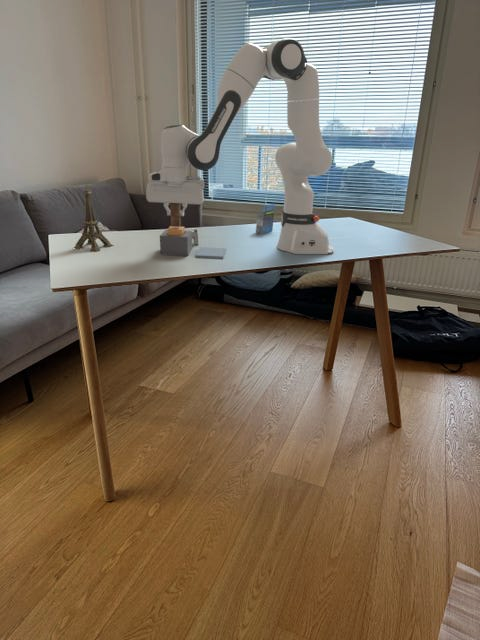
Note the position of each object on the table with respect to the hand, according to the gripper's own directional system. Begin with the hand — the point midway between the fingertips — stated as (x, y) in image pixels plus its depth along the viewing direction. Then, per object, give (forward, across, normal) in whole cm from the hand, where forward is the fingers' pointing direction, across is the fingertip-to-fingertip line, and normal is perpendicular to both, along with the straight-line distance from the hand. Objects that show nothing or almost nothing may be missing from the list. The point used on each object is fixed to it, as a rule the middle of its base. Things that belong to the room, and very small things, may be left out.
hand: (175, 215), depth 153 cm
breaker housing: (+13, 0, 0) cm, 13 cm away
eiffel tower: (+14, +32, -1) cm, 35 cm away
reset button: (+7, 0, 0) cm, 7 cm away
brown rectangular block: (+4, 0, 0) cm, 4 cm away
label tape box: (+14, -33, -42) cm, 55 cm away
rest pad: (+13, -13, 0) cm, 19 cm away
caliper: (+14, -2, -20) cm, 25 cm away
